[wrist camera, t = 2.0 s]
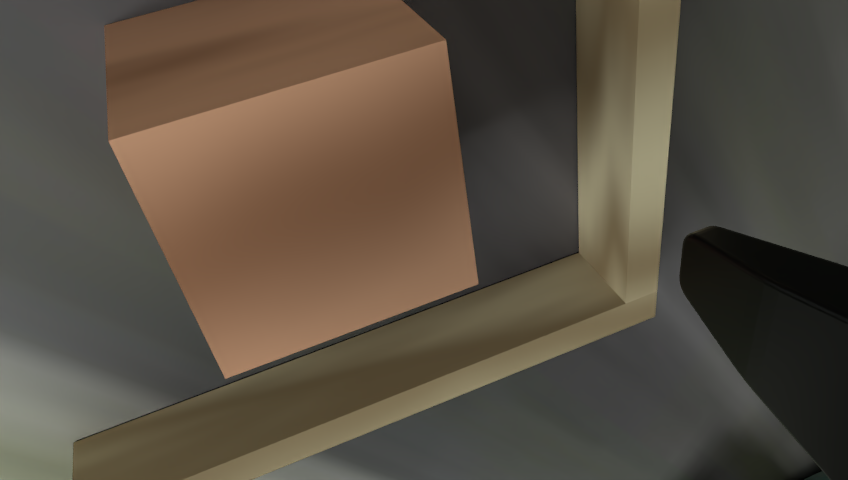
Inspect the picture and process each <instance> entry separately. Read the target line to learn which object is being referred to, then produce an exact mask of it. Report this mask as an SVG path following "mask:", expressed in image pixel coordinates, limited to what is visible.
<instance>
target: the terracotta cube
mask: <svg viewBox="0 0 848 480" xmlns="http://www.w3.org/2000/svg"><path fill="white" fill-rule="evenodd" d="M104 28H105V57H106V85H107V114H108V141H109V143H110V145H111V147H112V149H113V151H114V153H115V155H116V157H117V159H118V161H119V163H120V165H121V167H122V169H123V172H124V174H125V176H126V178H127V180H128V182H129V184H130V186H131V188H132V190H133V192H134V194H135V196H136V198H137V200H138V202H139V204H140V206H141V208H142V210H143V212H144V214H145V216H146V218H147V220H148V222H149V224H150V226H151V228H152V231H153V233H154V235H155V237H156V239H157V241H158V243H159V245H160V247H161V249H162V251H163V253H164V255H165V257H166V259H167V261H168V263H169V265H170V267H171V269H172V271H173V273H174V275H175V277H176V279H177V281H178V283H179V285H180V287H181V290H182V292H183V294H184V296H185V298H186V300H187V302H188V304H189V306H190V308H191V310H192V312H193V314H194V316H195V318H196V320H197V322H198V324H199V326H200V328H201V330H202V332H203V334H204V336H205V338H206V340H207V342H208V344H209V346H210V349H211V351H212V353H213V355H214V357H215V359H216V361H217V363H218V365H219V367H220V369H221V371H222V373H223V375H224V377H225V379H226V378H229V377H232V376H234V375H237V374H240V373H242V372H245V371H248V370H250V369H253V368H256V367H258V366H261V365H264V364H266V363H269V362H272V361H274V360H277V359H280V358H282V357H285V356H288V355H290V354H293V353H296V352H299V351H301V350H304V349H307V348H309V347H312V346H315V345H317V344H320V343H323V342H325V341H328V340H331V339H333V338H336V337H339V336H341V335H344V334H347V333H349V332H352V331H355V330H357V329H360V328H363V327H365V326H368V325H371V324H373V323H376V322H379V321H381V320H384V319H387V318H389V317H392V316H395V315H397V314H400V313H403V312H405V311H408V310H411V309H413V308H416V307H419V306H421V305H424V304H427V303H429V302H432V301H435V300H437V299H440V298H443V297H445V296H448V295H451V294H453V293H456V292H459V291H461V290H464V289H467V288H469V287H472V286H475V285H477V284H478V277H477V269H476V262H475V254H474V246H473V239H472V231H471V224H470V216H469V209H468V201H467V194H466V186H465V179H464V171H463V163H462V156H461V148H460V141H459V133H458V126H457V118H456V111H455V103H454V95H453V88H452V80H451V73H450V65H449V58H448V50H447V43H446V39H445V38H444V37H442V36H441V35H440V34H439V33H438V32H437V31H436V30H435V29H433V28H432V27H431V26H430V25H429V24H428V23H427V22H426V21H424V20H423V19H422V18H421V17H420V16H419V15H418V14H417V13H415V12H414V11H413V10H412V9H411V8H410V7H409V6H408V5H406V4H405V3H404V2H403V1H402V0H198V1H194V2H190V3H186V4H183V5H179V6H175V7H171V8H168V9H164V10H160V11H156V12H153V13H149V14H145V15H142V16H138V17H134V18H130V19H127V20H123V21H119V22H115V23H112V24H108V25H104Z"/></svg>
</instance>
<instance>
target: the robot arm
mask: <svg viewBox="0 0 848 480" xmlns="http://www.w3.org/2000/svg"><path fill="white" fill-rule="evenodd" d="M680 285H681V288H682V290H683V293H684V294H685V296H686V298H687V299H688V300H689V302H690V303H691V305H692V306H693V308H694V309H695V311H696V312H697V313H698V315H699V316H700V318H701V319H702V321H703V322H704V323H705V325H706V326H707V328H708V329H709V331H710V332H711V334H712V335H713V336H714V338H715V339H716V341H717V342H718V344H719V345H720V347H721V348H722V349H723V351H724V352H725V354H726V355H727V357H728V358H729V359H730V361H731V362H732V364H733V365H734V367H735V368H736V369H737V371H738V372H739V373H740V375H741V376H742V377H743V379H744V380H745V381H746V382H747V384H748V385H749V386H750V387H751V388H752V390H753V391H754V392H755V393H756V394H757V396H758V397H759V398H760V399H761V400H762V401H763V403H764V404H765V405H766V406H767V407H768V408H769V410H770V411H771V412H772V413H773V414H774V415H775V416H776V418H777V419H778V420H779V421H780V422H781V423H782V425H783V426H784V427H785V428H786V429H787V430H788V432H789V433H790V434H791V435H792V436H793V437H794V438H795V440H796V441H797V442H798V443H799V444H800V445H801V447H802V448H803V449H804V450H805V451H806V452H807V454H808V455H809V456H810V457H811V458H812V459H813V460H814V462H815V463H816V464H817V465H818V466H819V467H820V469H821V470H822V471H823V472H824V473H825V474H826V475H827V477H828V478H829V479H830V480H848V267H847V266H844V265H841V264H838V263H834V262H831V261H828V260H825V259H822V258H818V257H815V256H812V255H809V254H805V253H802V252H799V251H796V250H792V249H789V248H786V247H783V246H780V245H776V244H773V243H770V242H767V241H763V240H760V239H757V238H754V237H750V236H747V235H744V234H741V233H737V232H734V231H731V230H728V229H725V228H721V227H717V226H709V227H706V228H703V229H701V230H698V231H695V232H693V233H690V234H689V235H687V236H686V238H685V239H684V242H683V248H682V258H681V267H680Z"/></svg>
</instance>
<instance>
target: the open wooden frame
mask: <svg viewBox="0 0 848 480" xmlns="http://www.w3.org/2000/svg"><path fill="white" fill-rule="evenodd" d="M680 6H681V0H576V46H577V131H578V217H579V253H577V254H574V255H571V256H569V257H566V258H563V259H561V260H558V261H555V262H553V263H550V264H547V265H545V266H542V267H540V268H537V269H534V270H532V271H529V272H526V273H524V274H521V275H518V276H516V277H513V278H510V279H508V280H505V281H502V282H500V283H497V284H494V285H492V286H489V287H486V288H484V289H481V290H478V291H476V292H473V293H470V294H468V295H465V296H462V297H460V298H457V299H454V300H452V301H449V302H446V303H444V304H441V305H438V306H436V307H433V308H430V309H428V310H425V311H423V312H420V313H417V314H415V315H412V316H409V317H407V318H404V319H401V320H399V321H396V322H393V323H391V324H388V325H385V326H383V327H380V328H377V329H375V330H372V331H369V332H367V333H364V334H361V335H359V336H356V337H353V338H351V339H348V340H345V341H343V342H340V343H337V344H335V345H332V346H329V347H327V348H324V349H321V350H319V351H316V352H313V353H311V354H308V355H306V356H303V357H300V358H298V359H295V360H292V361H290V362H287V363H284V364H282V365H279V366H276V367H274V368H271V369H268V370H266V371H263V372H260V373H258V374H255V375H252V376H250V377H247V378H244V379H242V380H239V381H236V382H234V383H231V384H228V385H226V386H223V387H220V388H218V389H215V390H212V391H210V392H207V393H204V394H202V395H199V396H196V397H194V398H191V399H189V400H186V401H183V402H181V403H178V404H175V405H173V406H170V407H167V408H165V409H162V410H159V411H157V412H154V413H151V414H149V415H146V416H143V417H141V418H138V419H135V420H133V421H130V422H127V423H125V424H122V425H119V426H117V427H114V428H111V429H109V430H106V431H103V432H101V433H98V434H95V435H93V436H90V437H87V438H85V439H82V440H79V441H77V442H74V445H73V480H252V479H255V478H257V477H259V476H262V475H264V474H267V473H269V472H272V471H274V470H277V469H279V468H282V467H284V466H287V465H289V464H292V463H294V462H297V461H299V460H301V459H304V458H306V457H309V456H311V455H314V454H316V453H319V452H321V451H324V450H326V449H329V448H331V447H334V446H336V445H339V444H341V443H343V442H346V441H348V440H351V439H353V438H356V437H358V436H361V435H363V434H366V433H368V432H371V431H373V430H376V429H378V428H381V427H383V426H385V425H388V424H390V423H393V422H395V421H398V420H400V419H403V418H405V417H408V416H410V415H413V414H415V413H418V412H420V411H423V410H425V409H427V408H430V407H432V406H435V405H437V404H440V403H442V402H445V401H447V400H450V399H452V398H455V397H457V396H460V395H462V394H465V393H467V392H469V391H472V390H474V389H477V388H479V387H482V386H484V385H487V384H489V383H492V382H494V381H497V380H499V379H502V378H504V377H507V376H509V375H511V374H514V373H516V372H519V371H521V370H524V369H526V368H529V367H531V366H534V365H536V364H539V363H541V362H544V361H546V360H549V359H551V358H553V357H556V356H558V355H561V354H563V353H566V352H568V351H571V350H573V349H576V348H578V347H581V346H583V345H586V344H588V343H591V342H593V341H595V340H598V339H600V338H603V337H605V336H608V335H610V334H613V333H615V332H618V331H620V330H623V329H625V328H628V327H630V326H633V325H635V324H637V323H640V322H642V321H645V320H647V319H650V318H652V317H655V310H656V298H657V286H658V273H659V261H660V249H661V237H662V225H663V213H664V201H665V188H666V176H667V164H668V152H669V140H670V128H671V116H672V103H673V91H674V79H675V67H676V55H677V43H678V30H679V18H680Z"/></svg>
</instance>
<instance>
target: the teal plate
mask: <svg viewBox="0 0 848 480" xmlns="http://www.w3.org/2000/svg"><path fill="white" fill-rule="evenodd" d="M804 480H830V479H829V478H828V477H827V475H826V474H825V473H824V472H823V471H821V472H819V473H817V474H814V475H812V476H810V477H808V478H806V479H804Z"/></svg>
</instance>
